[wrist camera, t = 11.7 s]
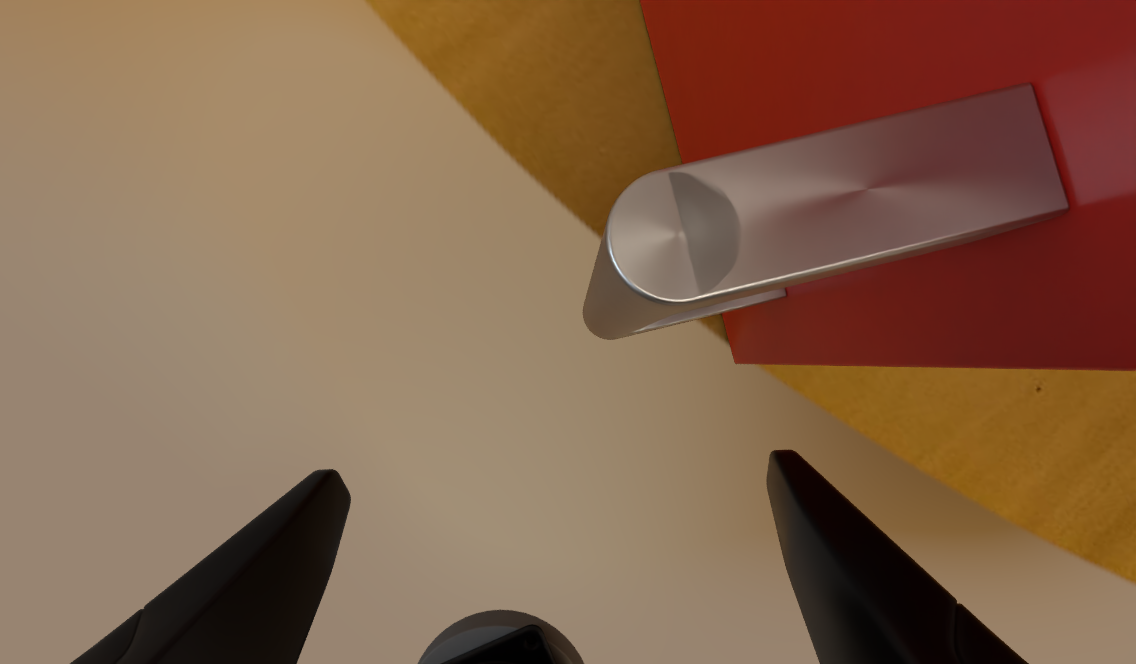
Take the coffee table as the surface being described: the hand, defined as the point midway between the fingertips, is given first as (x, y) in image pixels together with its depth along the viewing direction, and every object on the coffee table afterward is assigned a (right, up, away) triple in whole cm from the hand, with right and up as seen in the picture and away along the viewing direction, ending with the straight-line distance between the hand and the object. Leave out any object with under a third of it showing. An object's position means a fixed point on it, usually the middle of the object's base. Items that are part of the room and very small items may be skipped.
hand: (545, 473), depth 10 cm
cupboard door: (+2, +14, +11) cm, 18 cm away
